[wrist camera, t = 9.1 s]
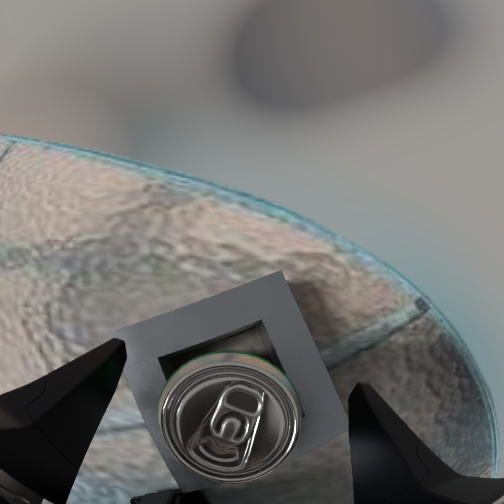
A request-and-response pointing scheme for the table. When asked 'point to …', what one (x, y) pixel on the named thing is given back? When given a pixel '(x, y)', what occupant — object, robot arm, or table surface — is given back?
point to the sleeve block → (219, 327)
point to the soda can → (229, 416)
